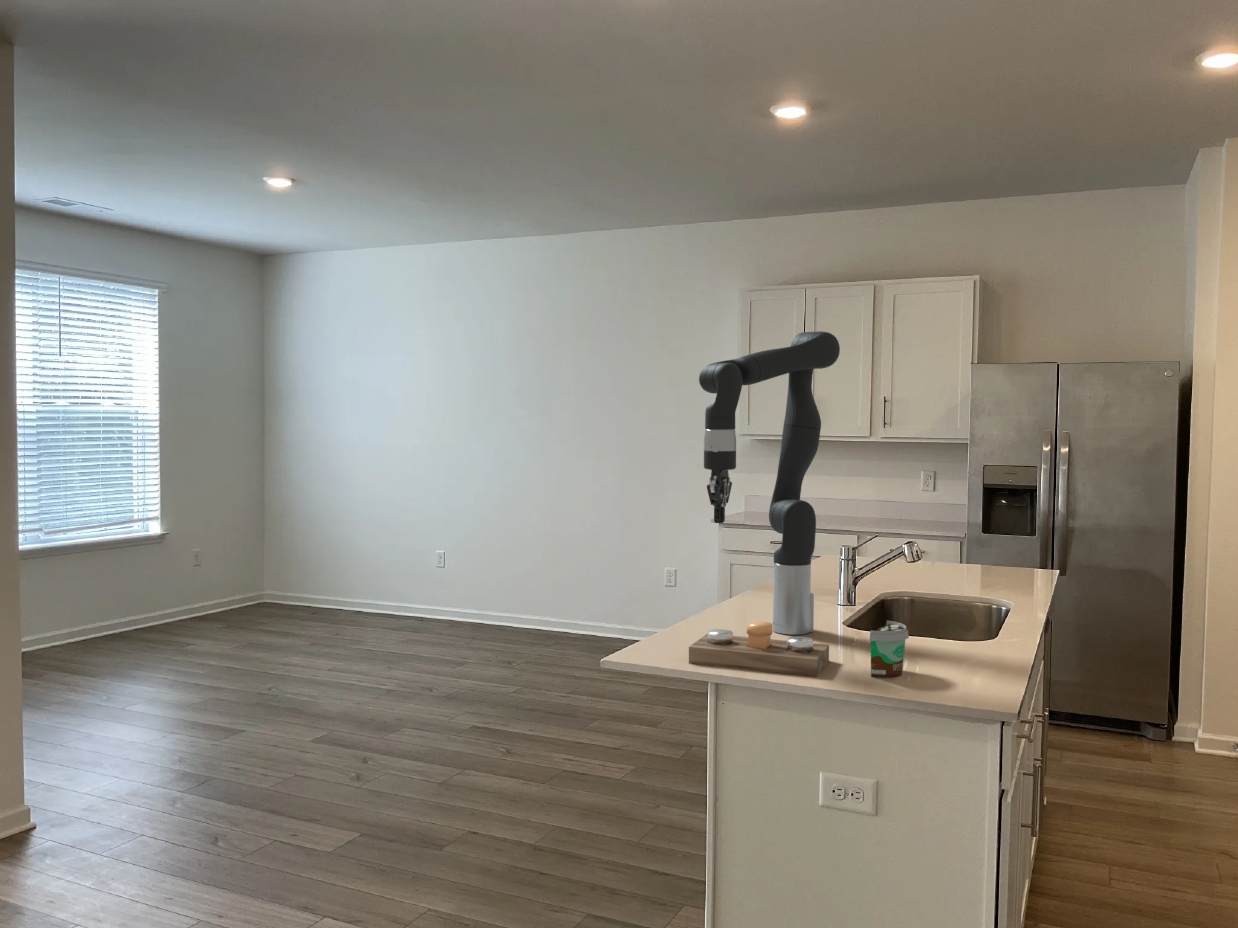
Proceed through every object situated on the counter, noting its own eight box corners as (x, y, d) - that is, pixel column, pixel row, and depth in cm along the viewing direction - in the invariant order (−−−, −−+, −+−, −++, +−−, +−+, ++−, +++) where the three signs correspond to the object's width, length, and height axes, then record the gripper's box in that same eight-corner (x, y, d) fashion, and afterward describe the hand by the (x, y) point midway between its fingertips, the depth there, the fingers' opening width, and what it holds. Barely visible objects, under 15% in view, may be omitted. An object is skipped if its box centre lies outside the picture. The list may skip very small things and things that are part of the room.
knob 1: (711, 649, 222) (711, 628, 222) (735, 652, 220) (735, 630, 220) (704, 655, 217) (704, 633, 217) (728, 658, 215) (728, 635, 215)
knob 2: (789, 657, 216) (790, 635, 215) (815, 660, 213) (815, 637, 213) (784, 663, 210) (784, 640, 210) (810, 666, 208) (810, 643, 208)
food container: (898, 682, 199) (899, 634, 199) (868, 678, 202) (869, 630, 202) (915, 669, 210) (916, 623, 209) (886, 665, 213) (887, 619, 212)
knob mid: (750, 642, 219) (750, 620, 219) (774, 644, 217) (775, 622, 216) (743, 648, 214) (743, 625, 213) (768, 650, 212) (769, 627, 211)
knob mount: (707, 648, 227) (707, 633, 227) (828, 660, 217) (829, 644, 216) (688, 662, 214) (688, 646, 214) (816, 676, 204) (816, 659, 203)
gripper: (712, 447, 236) (712, 519, 237) (695, 449, 223) (695, 525, 224) (743, 448, 233) (742, 520, 234) (727, 450, 221) (726, 526, 222)
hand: (719, 522), depth 229 cm, fingers closed
